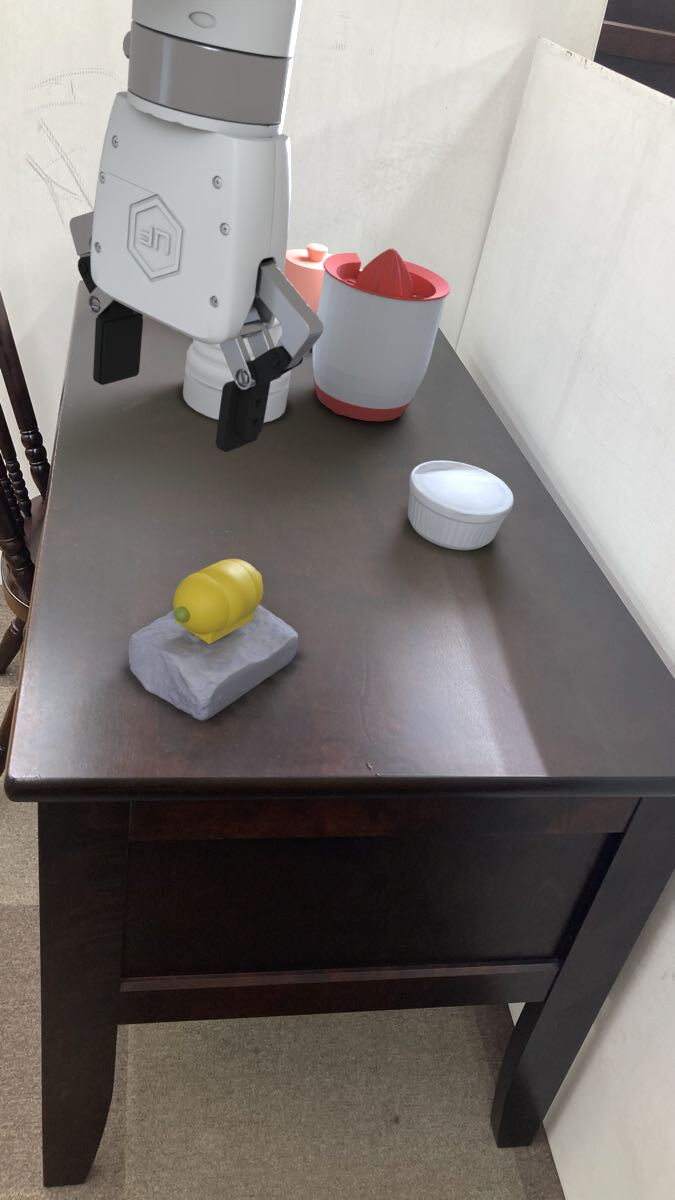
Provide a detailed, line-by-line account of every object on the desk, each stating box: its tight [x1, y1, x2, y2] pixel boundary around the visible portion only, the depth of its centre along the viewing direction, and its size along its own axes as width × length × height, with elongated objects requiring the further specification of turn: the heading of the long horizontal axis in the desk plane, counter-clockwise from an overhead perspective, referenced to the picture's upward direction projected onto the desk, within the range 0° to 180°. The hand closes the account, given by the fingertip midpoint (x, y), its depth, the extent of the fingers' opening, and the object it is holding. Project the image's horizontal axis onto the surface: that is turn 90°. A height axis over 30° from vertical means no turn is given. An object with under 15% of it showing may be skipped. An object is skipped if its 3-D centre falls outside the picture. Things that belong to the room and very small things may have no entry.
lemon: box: [172, 558, 264, 644], centre depth 69 cm, size 10×5×5 cm, turn 144°
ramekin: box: [407, 460, 515, 551], centre depth 95 cm, size 11×11×5 cm
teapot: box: [284, 243, 363, 315], centre depth 131 cm, size 22×15×12 cm
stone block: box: [127, 604, 299, 722], centre depth 71 cm, size 12×5×10 cm
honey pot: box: [182, 318, 292, 423], centre depth 106 cm, size 13×13×18 cm
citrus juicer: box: [312, 247, 451, 422], centre depth 112 cm, size 16×17×20 cm
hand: (174, 410), depth 52 cm, fingers open, 9 cm apart
